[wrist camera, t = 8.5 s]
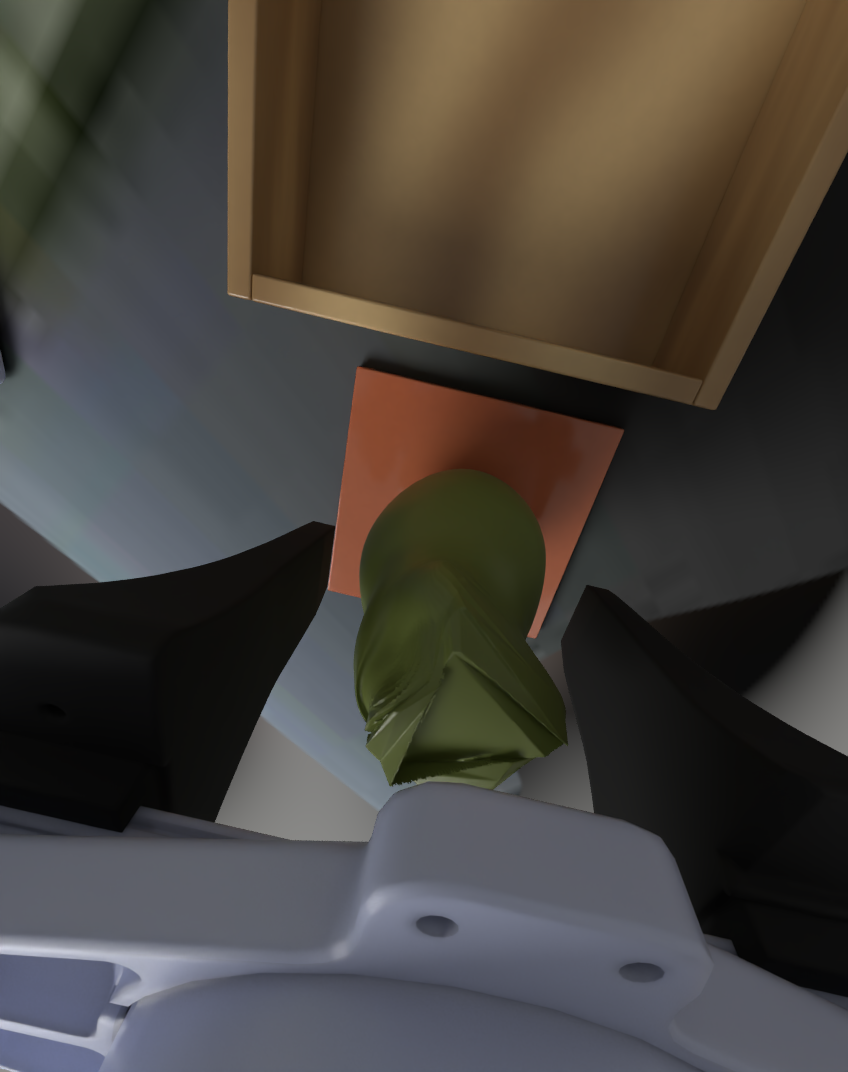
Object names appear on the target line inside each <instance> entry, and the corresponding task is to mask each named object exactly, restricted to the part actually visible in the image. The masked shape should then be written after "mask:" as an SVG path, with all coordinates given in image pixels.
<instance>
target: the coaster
mask: <svg viewBox="0 0 848 1072" xmlns="http://www.w3.org/2000/svg"><path fill="white" fill-rule="evenodd" d="M623 432H624V429H622V428H621V427H618V426H613V425H609V424H605V423H601V422H596V421H592V420H588V419H584V418H579V417H575V416H571V415H567V414H563V413H558V412H554V411H550V410H546V409H541V408H537V407H533V406H529V405H525V404H520V403H516V402H512V401H508V400H503V399H499V398H495V397H491V396H487V395H482V394H478V393H474V392H470V391H465V390H461V389H457V388H453V387H448V386H444V385H440V384H436V383H432V382H427V381H423V380H419V379H415V378H410V377H406V376H402V375H398V374H394V373H389V372H385V371H381V370H377V369H372V368H368V367H364V366H358V367H357V370H356V377H355V385H354V393H353V400H352V408H351V416H350V423H349V431H348V438H347V446H346V454H345V461H344V469H343V477H342V484H341V492H340V500H339V507H338V515H337V523H336V530H335V538H334V545H333V553H332V561H331V568H330V576H329V584H328V590H329V591H334V592H338V593H342V594H347V595H351V596H355V597H360V598H361V594H360V584H359V569H360V560H361V554H362V550H363V547H364V543H365V541H366V538H367V536H368V533H369V531H370V529H371V528H372V526H373V524H374V522H375V521H376V519H377V518H378V516H379V515H380V514H381V512H382V511H383V510H384V509H385V508H386V506H387V505H388V504H389V503H390V502H391V501H392V500H393V499H394V498H395V497H396V496H398V495H399V494H400V493H401V492H402V491H404V490H405V489H406V488H408V487H409V486H410V485H412V484H414V483H415V482H417V481H419V480H421V479H423V478H425V477H427V476H429V475H432V474H435V473H438V472H441V471H446V470H452V469H472V470H477V471H481V472H485V473H487V474H490V475H492V476H494V477H496V478H498V479H500V480H502V481H503V482H505V483H506V484H508V485H509V486H510V487H512V488H513V489H514V490H515V491H516V492H517V493H518V494H519V495H520V496H521V497H522V498H523V499H524V500H525V502H526V503H527V504H528V506H529V507H530V508H531V510H532V511H533V513H534V515H535V517H536V519H537V521H538V523H539V525H540V528H541V531H542V534H543V538H544V542H545V549H546V569H545V579H544V585H543V590H542V594H541V598H540V602H539V606H538V609H537V612H536V615H535V618H534V621H533V624H532V626H531V629H530V631H529V633H528V636H527V637H531V638H537V635H538V633H539V630H540V628H541V626H542V623H543V621H544V619H545V616H546V614H547V612H548V609H549V607H550V605H551V602H552V600H553V597H554V595H555V593H556V590H557V588H558V586H559V583H560V581H561V579H562V576H563V574H564V572H565V569H566V567H567V564H568V562H569V560H570V557H571V555H572V553H573V550H574V548H575V546H576V543H577V541H578V539H579V536H580V534H581V531H582V529H583V527H584V524H585V522H586V520H587V517H588V515H589V513H590V510H591V508H592V506H593V503H594V501H595V498H596V496H597V494H598V491H599V489H600V487H601V484H602V482H603V480H604V477H605V475H606V473H607V470H608V468H609V465H610V463H611V461H612V458H613V456H614V454H615V451H616V449H617V447H618V444H619V442H620V440H621V437H622V435H623Z"/></svg>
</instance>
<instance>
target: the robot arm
mask: <svg viewBox="0 0 848 1072" xmlns="http://www.w3.org/2000/svg"><path fill="white" fill-rule="evenodd" d="M4 380H5V369H4V364H3V360H2V355H1V351H0V384H1V383H3V382H4ZM334 531H335V526H332V525H328V524H323V523H319V522H315V521H313V522H311V523H308V524H306V525H304V526H301V527H299V528H297V529H295V530H293V531H291V532H289V533H287V534H285V535H282V536H280V537H278V538H276V539H274V540H271V541H269V542H267V543H265V544H262V545H260V546H257V547H255V548H252V549H249V550H247V551H244V552H242V553H239V554H237V555H234V556H231V557H228V558H225V559H222V560H219V561H215V562H212V563H208V564H205V565H201V566H197V567H193V568H189V569H184V570H179V571H174V572H169V573H165V574H160V575H155V576H148V577H142V578H135V579H127V580H119V581H111V582H100V583H89V584H71V585H55V586H36V587H34V588H32V589H31V590H29V591H27V592H26V593H24V594H23V595H21V596H19V597H18V598H16V599H14V600H13V601H11V602H9V603H8V604H7V605H5V606H3V607H2V608H0V1068H1V1069H5V1070H8V1071H11V1072H848V756H846V755H844V754H842V753H840V752H838V751H836V750H834V749H832V748H831V747H829V746H827V745H825V744H823V743H821V742H819V741H817V740H816V739H814V738H812V737H810V736H808V735H806V734H804V733H803V732H801V731H799V730H797V729H796V728H794V727H792V726H790V725H788V724H787V723H785V722H783V721H782V720H780V719H778V718H777V717H775V716H773V715H772V714H770V713H768V712H767V711H765V710H763V709H762V708H760V707H758V706H757V705H755V704H754V703H752V702H751V701H749V700H748V699H746V698H744V697H742V696H741V695H739V694H738V693H737V692H735V691H734V690H732V689H731V688H730V687H728V686H726V685H725V684H724V683H722V682H721V681H720V680H718V679H717V678H715V677H714V676H712V675H711V674H710V673H708V672H707V671H706V670H704V669H703V668H702V667H700V666H699V665H698V664H696V663H695V662H694V661H693V660H691V659H690V658H689V657H688V656H686V655H685V654H684V653H683V652H681V651H680V650H679V649H678V648H676V647H675V646H674V645H673V644H672V643H670V642H669V641H668V640H667V639H666V638H665V637H663V636H662V635H661V634H660V633H659V632H658V631H657V630H655V629H654V628H653V627H652V626H651V625H650V624H649V623H647V622H646V621H645V620H644V619H643V618H642V617H641V616H640V615H638V614H637V613H636V612H635V611H634V610H633V609H632V608H630V607H629V606H628V605H627V604H626V603H625V602H623V601H622V600H621V599H620V598H619V597H617V596H616V595H615V594H613V593H612V592H610V591H609V590H606V589H602V588H598V587H594V586H589V585H586V588H585V590H584V592H583V594H582V596H581V598H580V601H579V603H578V605H577V607H576V609H575V612H574V614H573V616H572V618H571V620H570V622H569V625H568V627H567V629H566V631H565V633H564V635H563V638H562V640H561V646H562V657H563V666H564V673H565V677H566V682H567V685H568V689H569V693H570V697H571V701H572V705H573V708H574V712H575V716H576V720H577V724H578V727H579V731H580V735H581V739H582V742H583V746H584V751H585V756H586V760H587V766H588V773H589V779H590V786H591V793H592V799H593V807H594V813H591V812H587V811H582V810H577V809H573V808H569V807H565V806H560V805H556V804H552V803H547V802H543V801H538V800H534V799H530V798H525V797H521V796H517V795H512V794H508V793H504V792H499V791H495V790H491V789H486V788H482V787H477V786H473V785H469V784H464V783H450V782H432V781H428V782H425V783H422V784H419V785H416V786H413V787H410V788H407V789H403V790H400V791H398V792H397V793H395V794H393V795H392V797H391V798H390V799H389V800H388V802H387V803H386V804H385V805H384V806H383V808H382V809H381V810H380V811H379V813H378V815H377V819H376V822H375V826H374V830H373V833H372V837H371V838H370V840H369V842H349V841H348V842H346V841H301V840H300V841H299V840H288V839H284V838H279V837H275V836H271V835H267V834H262V833H258V832H253V831H249V830H245V829H240V828H236V827H231V826H227V825H223V824H218V823H214V822H215V820H216V817H217V815H218V812H219V810H220V807H221V805H222V803H223V800H224V798H225V795H226V793H227V790H228V788H229V786H230V783H231V781H232V779H233V776H234V774H235V772H236V769H237V767H238V764H239V762H240V760H241V757H242V755H243V753H244V750H245V748H246V746H247V744H248V741H249V739H250V737H251V734H252V732H253V730H254V727H255V725H256V723H257V721H258V719H259V717H260V714H261V712H262V710H263V708H264V706H265V703H266V701H267V699H268V697H269V695H270V693H271V690H272V688H273V687H274V685H275V683H276V681H277V679H278V677H279V675H280V674H281V672H282V670H283V669H284V667H285V665H286V664H287V662H288V660H289V659H290V657H291V655H292V654H293V652H294V650H295V649H296V647H297V645H298V644H299V642H300V640H301V639H302V637H303V635H304V634H305V632H306V630H307V628H308V627H309V625H310V623H311V622H312V620H313V618H314V616H315V615H316V612H317V610H318V608H319V605H320V603H321V601H322V598H323V596H324V593H325V591H326V588H327V585H328V577H329V570H330V562H331V554H332V547H333V539H334Z"/></svg>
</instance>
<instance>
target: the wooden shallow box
mask: <svg viewBox="0 0 848 1072" xmlns="http://www.w3.org/2000/svg"><path fill="white" fill-rule="evenodd" d="M847 152H848V0H228V294H229V295H230V296H234V297H238V298H242V299H246V300H253V301H255V302H259V303H263V304H267V305H271V306H276V307H280V308H284V309H288V310H293V311H297V312H301V313H305V314H309V315H314V316H318V317H322V318H326V319H330V320H335V321H339V322H343V323H347V324H352V325H356V326H360V327H364V328H368V329H373V330H377V331H381V332H385V333H389V334H394V335H398V336H402V337H406V338H411V339H415V340H419V341H423V342H427V343H432V344H436V345H440V346H444V347H448V348H453V349H457V350H461V351H465V352H470V353H474V354H478V355H482V356H486V357H491V358H495V359H499V360H503V361H507V362H512V363H516V364H520V365H524V366H529V367H533V368H537V369H541V370H545V371H550V372H554V373H558V374H562V375H566V376H571V377H575V378H579V379H583V380H588V381H592V382H596V383H600V384H604V385H609V386H613V387H617V388H621V389H625V390H630V391H634V392H638V393H642V394H647V395H651V396H655V397H659V398H663V399H668V400H672V401H676V402H680V403H684V404H691V405H693V406H697V407H701V408H706V409H710V410H716V408H717V407H718V405H719V403H720V401H721V399H722V397H723V395H724V393H725V391H726V389H727V387H728V385H729V383H730V381H731V379H732V377H733V375H734V373H735V372H736V370H737V368H738V366H739V364H740V362H741V360H742V358H743V356H744V354H745V352H746V350H747V348H748V346H749V344H750V342H751V340H752V338H753V336H754V334H755V332H756V330H757V328H758V326H759V325H760V323H761V321H762V319H763V317H764V315H765V313H766V311H767V309H768V307H769V305H770V303H771V301H772V299H773V297H774V295H775V293H776V291H777V289H778V287H779V285H780V283H781V281H782V279H783V278H784V276H785V274H786V272H787V270H788V268H789V266H790V264H791V262H792V260H793V258H794V256H795V254H796V252H797V250H798V248H799V246H800V244H801V242H802V240H803V238H804V236H805V234H806V232H807V230H808V229H809V227H810V225H811V223H812V221H813V219H814V217H815V215H816V213H817V211H818V209H819V207H820V205H821V203H822V201H823V199H824V197H825V195H826V193H827V191H828V189H829V187H830V185H831V183H832V182H833V180H834V178H835V176H836V174H837V172H838V170H839V168H840V166H841V164H842V162H843V160H844V158H845V156H846V154H847Z"/></svg>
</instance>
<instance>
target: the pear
mask: <svg viewBox="0 0 848 1072" xmlns="http://www.w3.org/2000/svg"><path fill="white" fill-rule="evenodd" d="M545 569H546V549H545V542H544V538H543V534H542V531H541V528H540V525H539V523H538V521H537V519H536V517H535V515H534V513H533V511H532V510H531V508H530V507H529V506H528V504H527V503H526V502H525V500H524V499H523V498H522V497H521V496H520V495H519V494H518V493H517V492H516V491H515V490H514V489H513V488H512V487H510V486H509V485H508V484H506V483H505V482H503V481H502V480H500V479H498V478H496V477H494V476H492V475H490V474H487V473H485V472H481V471H477V470H472V469H452V470H446V471H441V472H438V473H435V474H432V475H429V476H427V477H425V478H423V479H421V480H419V481H417V482H415V483H414V484H412V485H410V486H409V487H408V488H406V489H405V490H404V491H402V492H401V493H400V494H399V495H398V496H396V497H395V498H394V499H393V500H392V501H391V502H390V503H389V504H388V505H387V506H386V508H385V509H384V510H383V511H382V512H381V514H380V515H379V516H378V518H377V519H376V521H375V522H374V524H373V526H372V528H371V529H370V531H369V533H368V536H367V538H366V541H365V543H364V547H363V550H362V554H361V560H360V569H359V584H360V594H361V601H362V606H363V611H364V616H363V619H362V622H361V625H360V628H359V631H358V635H357V639H356V645H355V651H354V684H355V696H356V701H357V705H358V708H359V711H360V713H361V715H362V717H363V719H364V720H365V722H366V727H365V731H368V732H371V734H368V737H367V738H368V739H367V743H366V748H367V749H368V750H369V751H370V752H371V753H372V754H373V755H374V756H375V757H376V758H377V759H378V760H380V762H381V764H382V768H383V769H384V772H385V775H386V777H387V780H388V783H389V785H390V786H391V785H392V786H393V784H395V785H396V783H397V784H398V785H399V784H401V785H402V782H403V783H405V782H407V783H408V782H410V783H411V780H412V781H414V782H415V783H416V784H417V785H419V784H422V783H425V782H428V781H432V782H450V783H464V784H469V785H473V786H477V787H482V788H486V789H491V790H493V789H494V788H496V787H497V786H498V785H500V784H501V783H502V782H503V781H505V780H506V779H507V778H508V777H510V776H511V775H512V774H513V773H515V772H516V771H517V770H518V769H520V767H522V766H523V765H525V764H527V763H528V762H530V761H531V760H533V759H534V758H536V757H546V756H548V755H549V754H550V753H551V752H552V751H554V749H557V748H558V747H559V746H561V745H563V743H565V744H566V745H567V746H568V741H567V732H566V723H565V718H566V710H565V705H564V702H563V699H562V696H561V694H560V692H559V691H558V689H557V687H556V686H555V684H554V682H553V680H552V679H551V677H550V676H549V674H548V673H547V671H546V670H545V669H544V667H543V665H542V664H541V663H540V661H539V660H538V658H537V657H536V655H535V654H534V653H533V651H532V650H531V648H530V647H529V646H528V644H527V643H526V641H525V640H526V638H527V636H528V633H529V631H530V629H531V626H532V624H533V621H534V618H535V615H536V612H537V609H538V606H539V602H540V598H541V594H542V590H543V585H544V579H545ZM408 784H409V783H408Z"/></svg>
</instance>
